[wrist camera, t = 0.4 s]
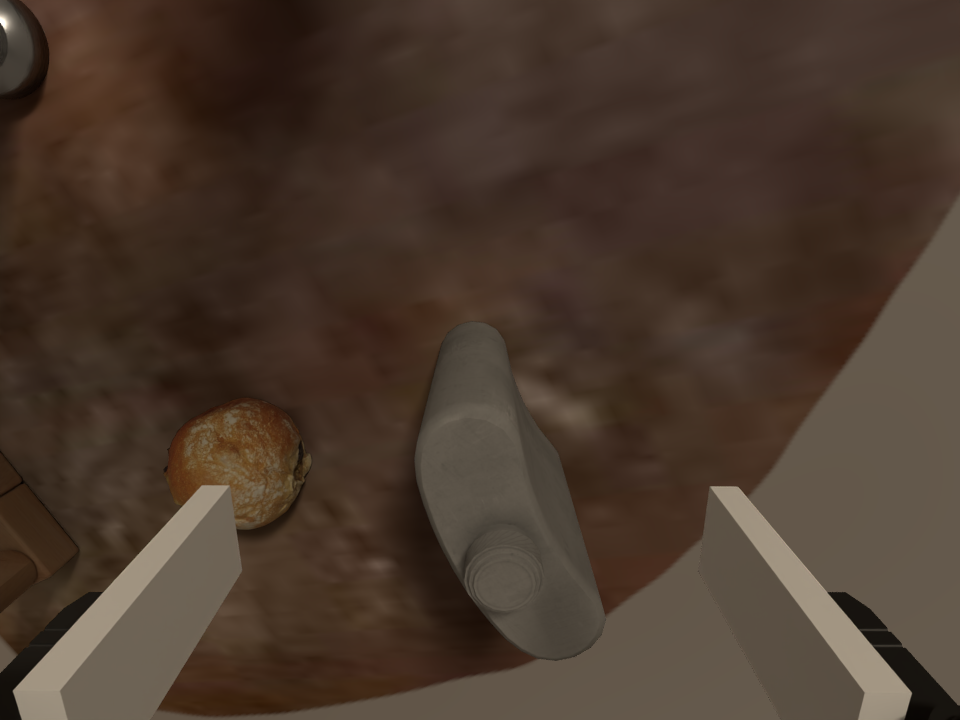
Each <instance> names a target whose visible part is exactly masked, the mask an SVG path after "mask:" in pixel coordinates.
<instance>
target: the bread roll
mask: <svg viewBox="0 0 960 720" xmlns="http://www.w3.org/2000/svg"><path fill="white" fill-rule="evenodd" d="M167 450H168V453H169V455H168V456H169V461H168V466H166V467H165V468H164V475H165V477H166V480H167V482H168V484H169V487H170V491H171V494H172V496H173V498H174V502H175V503H176V504H177V505H180V506H182V507H183V505H184V504H185V503H186V502H187V501H188V500H189V499H190V498H191V497H192V496H193V495H194V493H195V492H196V491H197V490H198V489H199V488H200V487H201V486H202V485H229V486H230V490H231V497H232V504H233V511H234V518H235V525H236V529H241V530H250V529H255V528H259V527H262V526H265V525H267V524H269V523H271V522H272V521H274V520H275V519H277V518H278V517H280V516H281V515H282V514H284V513H285V512H286V511H287V510H288V509H289V507H290V506H291V504H292V503H293V501H294V500H295V498H296V497H297V495H298V493H299V491H300V489H301V486H302V484H303V483H304V482H305V479H304V478H303V477H304V476H305V474H306V473H308V472H309V470H310V466H311V462H312V459H311V456H310V454H308V453H306V451H305V446H304V443H303V440H302V437H301V436H300V434H299V430H298V429H297V427H296V426H295V424H294V423H293V421H292V419H291V417H290V416H289V415H288V414H287V413H286V412H284V411H283V410H281V409H280V408H279V407H277V406H275V405H272V404H270V403H268V402H266V401H262V400H258V399H253V398H239V399H235V400H231V401H230V402H227V403H225V404H223V405H220V406H216V407H213V408H211V409H209V410H208V411H206V412H204V413H202V414H200V415H198V416H196V417H194V418H192V419H191V420H189V421H188V422H187V423H185V424H184V426H182V427H181V428H180V429H179V430H178V432H177V434H176V435H175V437H174V439H173V441H172V443H171V445H170V448H169V449H167Z"/></svg>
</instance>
